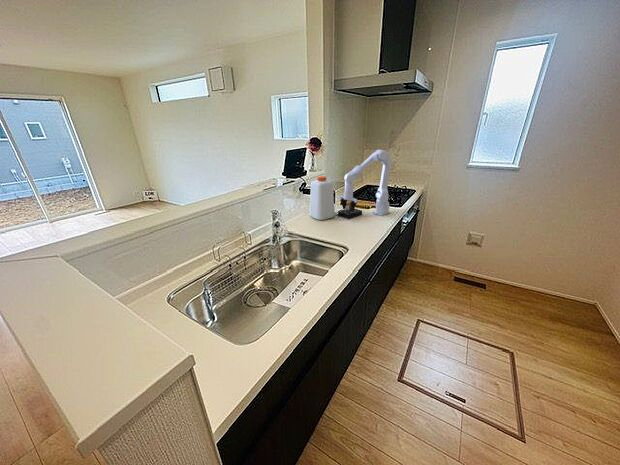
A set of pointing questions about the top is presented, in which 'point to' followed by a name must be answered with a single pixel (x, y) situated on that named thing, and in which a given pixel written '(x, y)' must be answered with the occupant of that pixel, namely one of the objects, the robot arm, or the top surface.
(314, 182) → the plastic bottle
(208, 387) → the top surface
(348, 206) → the knob
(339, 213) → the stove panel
